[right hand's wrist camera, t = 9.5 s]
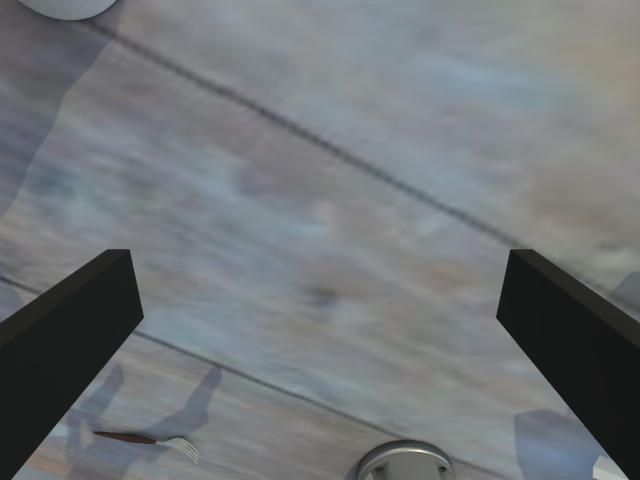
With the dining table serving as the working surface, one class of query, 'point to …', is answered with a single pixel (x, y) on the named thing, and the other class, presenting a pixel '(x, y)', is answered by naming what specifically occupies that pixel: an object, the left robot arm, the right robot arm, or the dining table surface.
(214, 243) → the dining table surface
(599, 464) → the white plastic object
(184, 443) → the fork
